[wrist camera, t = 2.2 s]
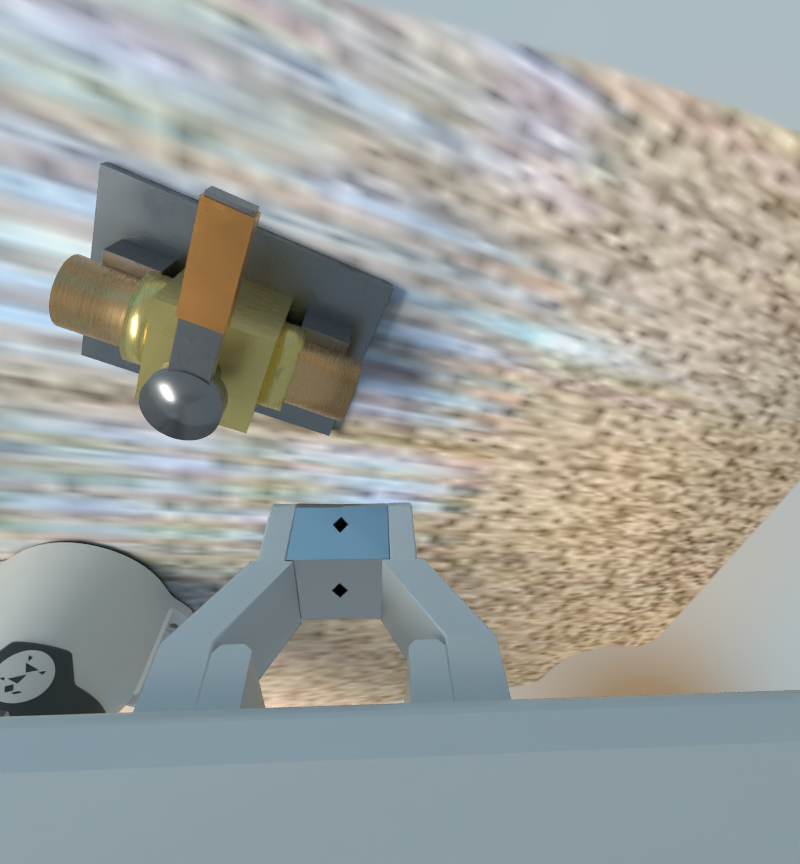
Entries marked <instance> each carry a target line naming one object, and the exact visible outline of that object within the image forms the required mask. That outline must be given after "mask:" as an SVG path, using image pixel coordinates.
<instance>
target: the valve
mask: <svg viewBox="0 0 800 864" xmlns="http://www.w3.org/2000/svg"><path fill="white" fill-rule="evenodd" d="M198 203H199V201H196V200H194V199H192V198H189V197H187V196H185V195H182V194H180V193H178V192H175V191H173V190H171V189H168V188H166V187H164V186H161V185H159V184H157V183H154V182H152V181H150V180H147V179H145V178H143V177H140V176H138V175H136V174H134V173H131V172H129V171H127V170H124V169H122V168H120V167H117V166H115V165H113V164H110V163H108V162H105V163H101V164H100V171H99V181H98V191H97V201H96V211H95V222H94V232H93V242H92V252H91V259H90V258H87V257H85V256H82V255H79V254H76V255H73V256H71V257H70V258H68V259H67V260H66V261H65V263H64V264H63V265H62V267H61V268H60V270H59V272H58V274H57V276H56V278H55V281H54V283H53V286H52V290H51V295H50V302H49V312H50V317H51V320H52V322H53V323H54V324H55V325H56V326H59V327H62V328H65V329H68V330H71V331H74V332H77V333H79V334H82V335H83V344H82V354H81V355H84V356H87V357H90V358H93V359H96V360H99V361H102V362H105V363H108V364H111V365H114V366H117V367H120V368H124V369H127V370H130V371H133V372H136V373H139V378H138V383H137V389H136V395H135V399H138V400H139V395H140V391H141V389H142V387H143V386H144V384H145V383H146V382H147V380H148V379H149V378H150V377H151V375H152V374H153V373H154V372H155V370H156V369H157V368H158V367H159V366H161V365H162V364H164V363H166V362H169V361H170V357H171V352H172V347H173V342H174V337H175V333H176V328H177V323H178V318H177V317H176V312H177V307H178V302H179V297H180V292H181V287H182V282H183V277H184V272H185V267H186V262H187V257H188V252H189V247H190V243H191V238H192V233H193V228H194V223H195V218H196V213H197V208H198ZM392 291H393V285H392V284H390V283H388V282H385V281H383V280H381V279H378V278H376V277H374V276H371V275H369V274H367V273H364V272H362V271H360V270H357V269H355V268H353V267H350V266H348V265H346V264H343V263H341V262H339V261H336V260H334V259H332V258H329V257H327V256H325V255H322V254H320V253H318V252H315V251H313V250H311V249H308V248H306V247H304V246H301V245H299V244H297V243H294V242H292V241H290V240H287V239H285V238H283V237H280V236H278V235H276V234H273V233H271V232H269V231H266V230H264V229H262V228H259V227H257V229H256V233H255V237H254V240H253V244H252V248H251V251H250V255H249V259H248V263H247V266H246V270H245V274H244V277H243V281H242V285H241V289H240V292H239V296H238V300H237V304H236V307H235V311H234V315H233V318H232V322H231V325H230V326H229V328H228V329H227V331H226V334H225V338H224V342H223V345H222V349H221V353H220V357H219V361H218V364H217V368H216V372H215V373H216V374H217V375H218V376H219V377H220V378H221V380H222V381H223V383H224V384H225V387H226V389H227V392H228V404H227V407H226V410H225V412H224V414H223V416H222V418H221V420H220V423H219V425H221V426H225V427H228V428H231V429H234V430H237V431H240V432H244V433H246V432H247V430H248V427H249V424H250V422H251V419H252V416H253V414H254V411H255V412H258V413H261V414H264V415H267V416H270V417H273V418H276V419H279V420H282V421H286V422H289V423H292V424H295V425H298V426H301V427H304V428H307V429H310V430H313V431H316V432H319V433H322V434H325V435H328V436H329V434H330V432H331V430H332V428H333V425H334V423H335V421H336V420H337V421H341V420H342V418H343V417H344V415H345V413H346V411H347V409H348V407H349V405H350V402H351V400H352V397H353V395H354V392H355V389H356V386H357V382H358V379H359V375H360V371H361V362H362V359H363V357H364V355H365V353H366V350H367V348H368V346H369V343H370V341H371V339H372V337H373V334H374V332H375V330H376V328H377V325H378V323H379V321H380V318H381V316H382V314H383V312H384V309H385V307H386V305H387V302H388V300H389V298H390V296H391V293H392Z"/></svg>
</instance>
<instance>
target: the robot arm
mask: <svg viewBox="0 0 800 864" xmlns="http://www.w3.org/2000/svg"><path fill="white" fill-rule="evenodd" d="M337 618H381V621H382V622H383V624H384V625H385V627H386V628H387V630H388V631H389V633H390V635H391V636H392V638H393V639H394V641H395V642H396V644H397V646H398V647H399V649H400V650H401V652H402V653H403V655H404V656H405V658H406V660H407V674H406V687H405V701H404V703H402V704H401V703H399V704H370V705H340V706H310V707H280V708H265V705H264V700H263V696H262V692H261V688H260V683H259V680H260V678H261V677H262V675H263V674H264V673H265V671H266V670H267V669H268V667H269V666H270V665H271V663H272V662H273V660H274V659H275V658H276V656H277V655H278V654H279V652H280V651H281V650H282V648H283V647H284V646H285V644H286V643H287V641H288V640H289V639H290V637H291V636H292V635H293V633H294V632H295V631H296V629H297V628H298V626H299V625H300V624H301V620H317V619H337ZM125 705H128V706H132V707H135V709H134V712H129V713H119V712H120V711H121V710H122V708H123V707H124V706H125ZM0 864H800V690H787V691H786V690H785V691H756V692H730V693H729V692H728V693H727V692H725V693H699V694H698V693H697V694H696V693H695V694H665V695H636V696H607V697H575V698H550V699H549V698H545V699H517V700H516V699H515V700H511V697H510V692H509V688H508V684H507V680H506V675H505V671H504V667H503V663H502V658H501V654H500V650H499V645H498V641H497V637H496V635H495V634H494V633H493V632H492V631H491V630H490V629H489V628H488V627H487V626H486V625H485V624H484V623H483V621H482V620H481V619H480V618H479V617H478V616H477V615H476V614H475V613H474V612H473V611H472V610H471V609H470V608H469V607H468V605H467V604H466V603H465V602H464V601H463V600H462V599H461V598H460V597H459V596H458V595H457V594H456V593H455V592H454V591H453V590H452V588H451V587H450V586H449V585H448V584H447V583H446V582H445V581H444V580H443V579H442V578H441V577H440V576H439V575H438V574H437V572H436V571H435V570H434V569H433V568H432V567H431V566H430V565H429V564H428V563H427V562H426V561H425V560H424V559H417V553H416V543H415V533H414V524H413V514H412V505H411V504H410V503H388V505H387V503H379V504H273V506H272V508H271V509H270V513H269V517H268V521H267V526H266V530H265V534H264V538H263V542H262V546H261V550H260V554H259V558H258V562H250V563H249V564H248V565H246V566H245V567H244V568H243V569H242V570H241V571H240V572H239V573H238V574H237V575H235V576H234V577H233V578H232V579H231V580H230V581H229V582H228V583H227V584H226V585H224V586H223V587H222V588H221V589H220V590H219V591H218V592H217V593H216V594H215V595H213V596H212V597H211V598H210V599H209V600H208V601H207V602H206V603H205V604H204V605H202V606H201V607H200V608H199V609H198V610H197V611H196V612H195V613H194V614H193V612H192V610H191V609H190V608H189V607H187V606H186V605H185V604H183V603H182V602H180V601H178V600H177V599H175V598H174V597H173V596H172V595H171V594H170V593H169V592H168V590H167V589H166V587H165V586H164V584H163V583H162V582H161V581H160V579H159V578H158V577H157V576H156V575H155V574H153V573H152V572H151V571H150V570H149V569H147V568H146V567H144V566H143V565H141V564H140V563H138V562H137V561H135V560H133V559H131V558H129V557H127V556H125V555H122V554H120V553H117V552H115V551H112V550H109V549H105V548H102V547H98V546H93V545H88V544H81V543H69V542H58V543H47V544H41V545H37V546H33V547H30V548H28V549H25V550H23V551H21V552H20V553H18V554H16V555H15V556H13V557H12V558H10V559H8V560H5V561H0Z"/></svg>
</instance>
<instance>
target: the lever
mask: <svg viewBox="0 0 800 864" xmlns="http://www.w3.org/2000/svg"><path fill="white" fill-rule="evenodd" d="M258 210H259V206H257V205H254V204H252V203H250V202H248V201H245V200H243V199H241V198H238V197H236V196H234V195H232V194H229V193H227V192H225V191H223V190H220V189H218V188H216V187H214V186H211V187H210V188H208V189H206V190H205V192H204V193H203V194H201V195H200V198H199V203H198V208H197V213H196V218H195V223H194V228H193V233H192V238H191V243H190V247H189V252H188V257H187V262H186V267H185V272H184V277H183V282H182V287H181V292H180V297H179V302H178V307H177V312H176V317H177V318H178V323H177V328H176V333H175V337H174V342H173V347H172V352H171V357H170V361H169V362H166V363H164V364H162V365H161V366H159V367H158V368H157V369H156V370H155V372H154V373H153V374H152V375H151V377H150V378H149V379H148V380H147V382H146V383H145V384H144V386H143V387H142V389H141V391H140V395H139V405H140V409H141V411H142V414H143V415H144V417H145V419H146V420H147V421H148V422H149V423H150V425H152V426H153V427H154V428H155V429H156V430H158V431H159V432H161V433H163V434H165V435H167V436H169V437H172V438H175V439H180V440H197V439H201V438H204V437H206V436H208V435H210V434H211V433H212V432H213V431H214V430H215V429H216V428H217V426H218V425H219V423H220V420H221V418H222V416H223V414H224V412H225V410H226V407H227V404H228V392H227V389H226V387H225V384H224V383H223V381H222V380H221V378H220V377H219V376H218V375H217V374H216V373H215V372H216V368H217V364H218V361H219V357H220V353H221V349H222V345H223V342H224V338H225V334H226V331H227V329H228V328H229V326H230V325H231V322H232V318H233V315H234V311H235V307H236V304H237V300H238V296H239V292H240V289H241V285H242V281H243V277H244V274H245V270H246V266H247V263H248V259H249V255H250V251H251V248H252V244H253V240H254V237H255V233H256V229H257V225H258V222H259V218H260V214H261V212H259V211H258Z"/></svg>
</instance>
